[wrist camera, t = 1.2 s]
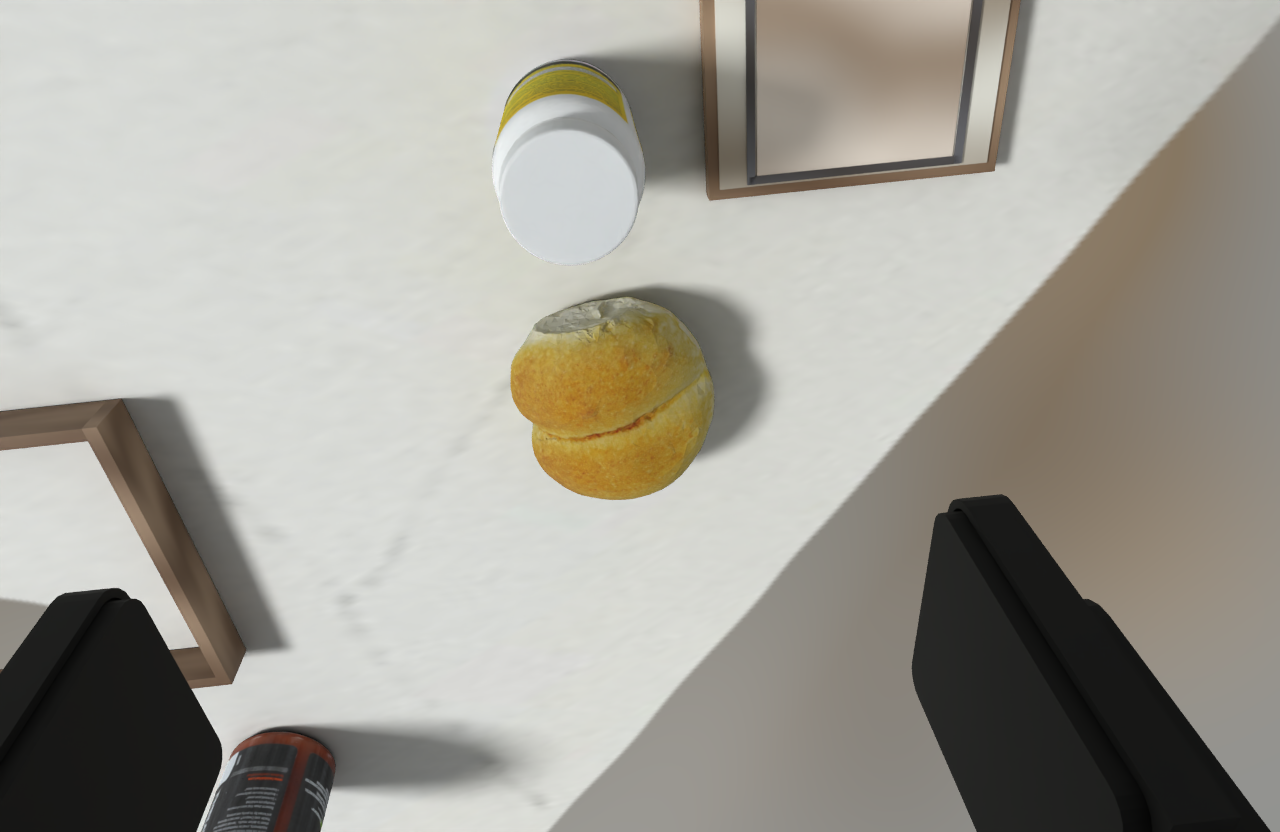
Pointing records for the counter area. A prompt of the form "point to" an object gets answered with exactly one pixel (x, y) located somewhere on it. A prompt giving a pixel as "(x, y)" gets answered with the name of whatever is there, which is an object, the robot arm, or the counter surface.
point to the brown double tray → (851, 91)
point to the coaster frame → (143, 523)
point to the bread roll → (613, 397)
